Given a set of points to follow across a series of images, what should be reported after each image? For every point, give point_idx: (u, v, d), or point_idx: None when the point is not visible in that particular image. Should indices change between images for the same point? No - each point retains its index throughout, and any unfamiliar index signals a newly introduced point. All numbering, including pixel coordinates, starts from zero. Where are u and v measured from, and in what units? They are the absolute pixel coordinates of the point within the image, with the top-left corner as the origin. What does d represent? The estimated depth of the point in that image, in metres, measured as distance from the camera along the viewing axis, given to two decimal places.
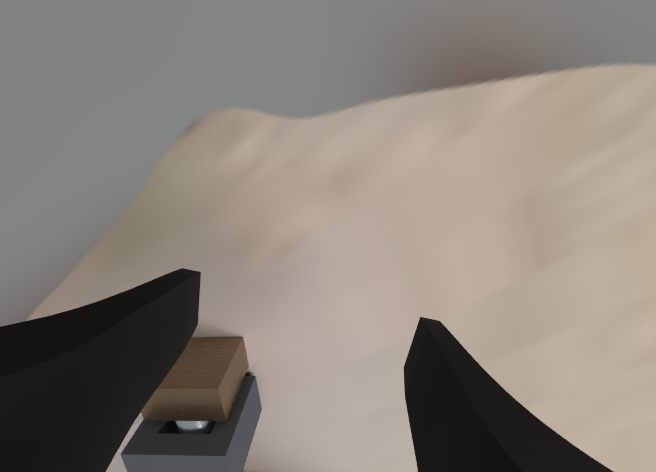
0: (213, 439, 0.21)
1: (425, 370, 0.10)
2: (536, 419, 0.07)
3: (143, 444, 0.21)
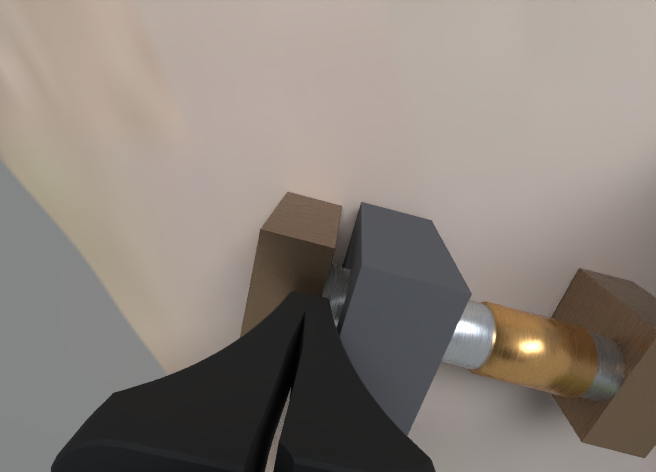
0: (351, 281, 0.11)
1: (299, 344, 0.10)
2: None
3: None
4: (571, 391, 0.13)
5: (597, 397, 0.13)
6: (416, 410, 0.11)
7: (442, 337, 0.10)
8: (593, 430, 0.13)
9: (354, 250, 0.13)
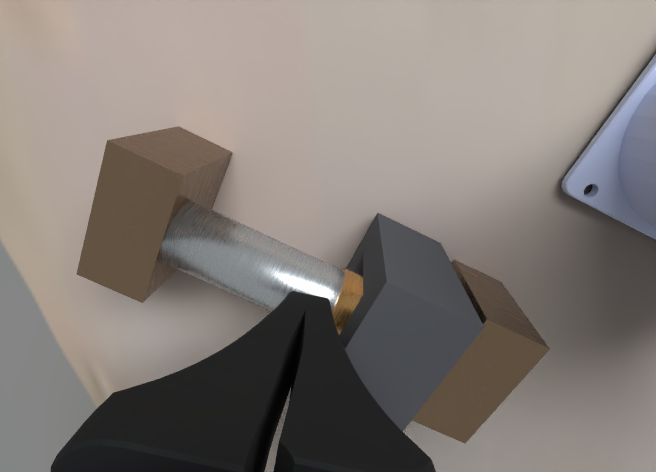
0: (367, 293, 0.11)
1: (299, 344, 0.10)
2: (363, 383, 0.07)
3: None
4: None
5: None
6: (403, 426, 0.12)
7: (446, 362, 0.11)
8: None
9: (369, 261, 0.13)
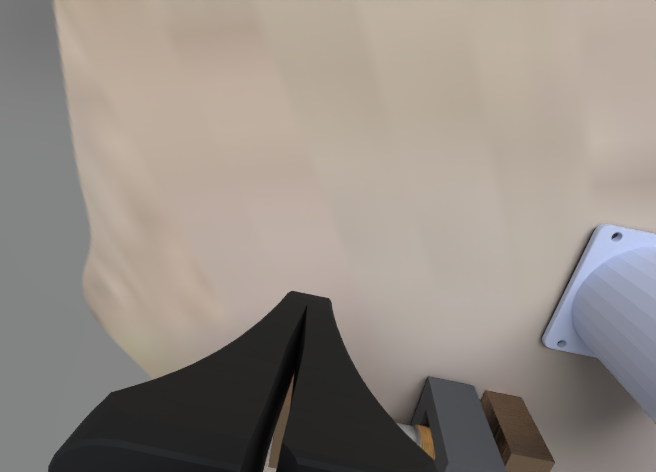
0: (438, 458, 0.20)
1: (300, 344, 0.10)
2: None
3: None
4: None
5: None
6: None
7: None
8: None
9: (433, 425, 0.22)
